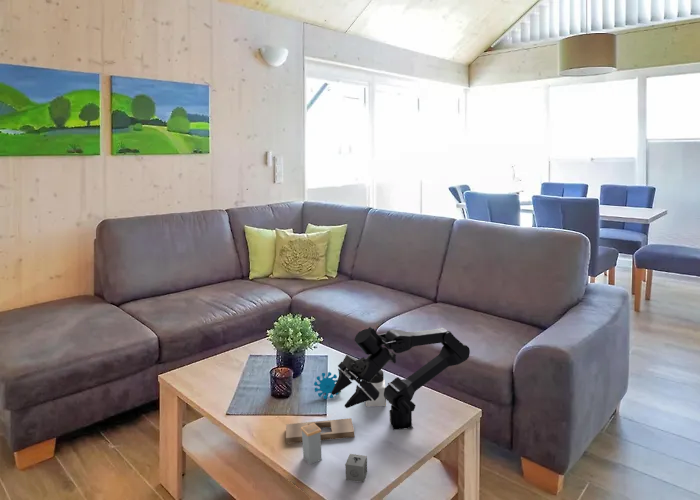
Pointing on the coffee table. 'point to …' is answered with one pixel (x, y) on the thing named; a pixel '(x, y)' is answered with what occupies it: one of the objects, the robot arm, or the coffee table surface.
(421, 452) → the coffee table surface
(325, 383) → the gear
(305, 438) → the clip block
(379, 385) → the medicine bottle
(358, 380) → the robot arm
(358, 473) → the grey marked cube
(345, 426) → the wooden socket base
